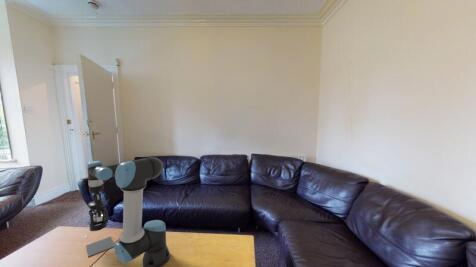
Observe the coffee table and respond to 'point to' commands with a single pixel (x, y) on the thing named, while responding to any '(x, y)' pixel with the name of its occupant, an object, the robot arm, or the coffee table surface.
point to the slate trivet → (99, 246)
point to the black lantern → (94, 219)
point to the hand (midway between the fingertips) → (98, 218)
